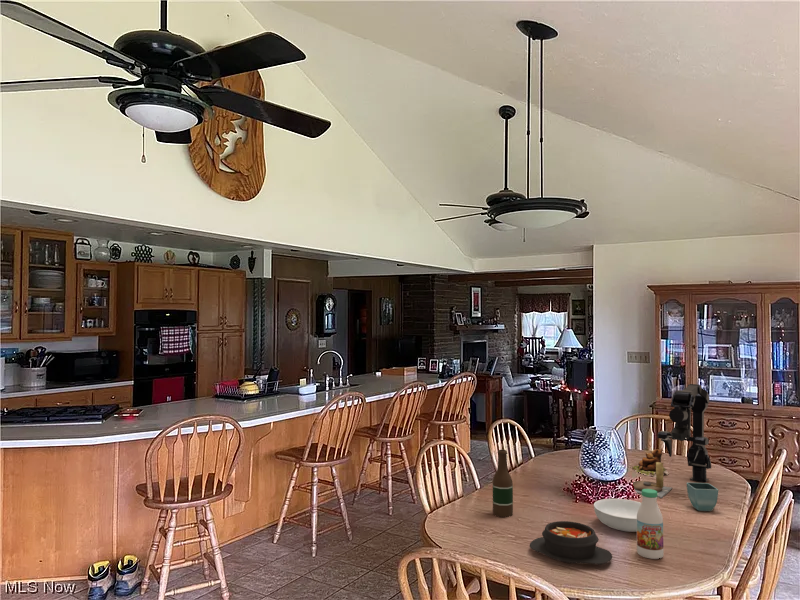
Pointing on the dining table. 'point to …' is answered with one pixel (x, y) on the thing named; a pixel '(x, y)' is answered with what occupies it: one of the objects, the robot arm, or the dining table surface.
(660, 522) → the milk bottle
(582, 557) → the casserole
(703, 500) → the flower pot
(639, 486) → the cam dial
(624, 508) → the serving bowl
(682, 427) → the robot arm
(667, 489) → the stand
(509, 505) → the beer bottle
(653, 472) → the bear figurine
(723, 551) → the dining table surface
